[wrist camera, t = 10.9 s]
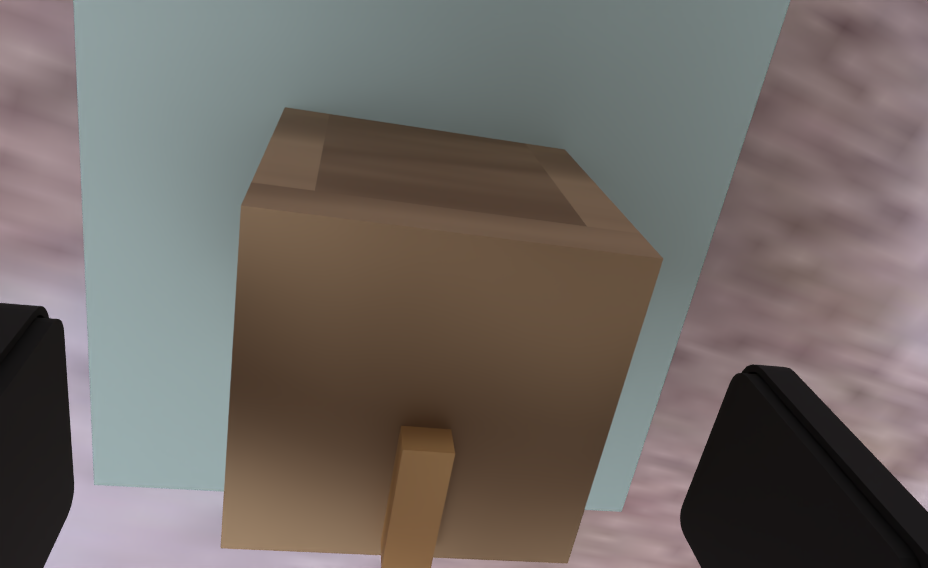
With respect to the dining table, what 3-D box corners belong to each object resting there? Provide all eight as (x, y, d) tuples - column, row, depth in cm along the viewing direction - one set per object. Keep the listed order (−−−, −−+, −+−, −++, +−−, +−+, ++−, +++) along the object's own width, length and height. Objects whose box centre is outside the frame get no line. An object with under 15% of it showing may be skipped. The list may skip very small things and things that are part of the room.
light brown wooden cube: (284, 107, 15) (234, 221, 9) (564, 149, 16) (678, 276, 10) (264, 358, 18) (214, 576, 12) (509, 380, 19) (576, 590, 13)
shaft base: (95, -145, 14) (-69, -190, 9) (759, -17, 17) (947, 9, 11) (112, 447, 20) (18, 639, 15) (606, 476, 22) (682, 649, 17)
